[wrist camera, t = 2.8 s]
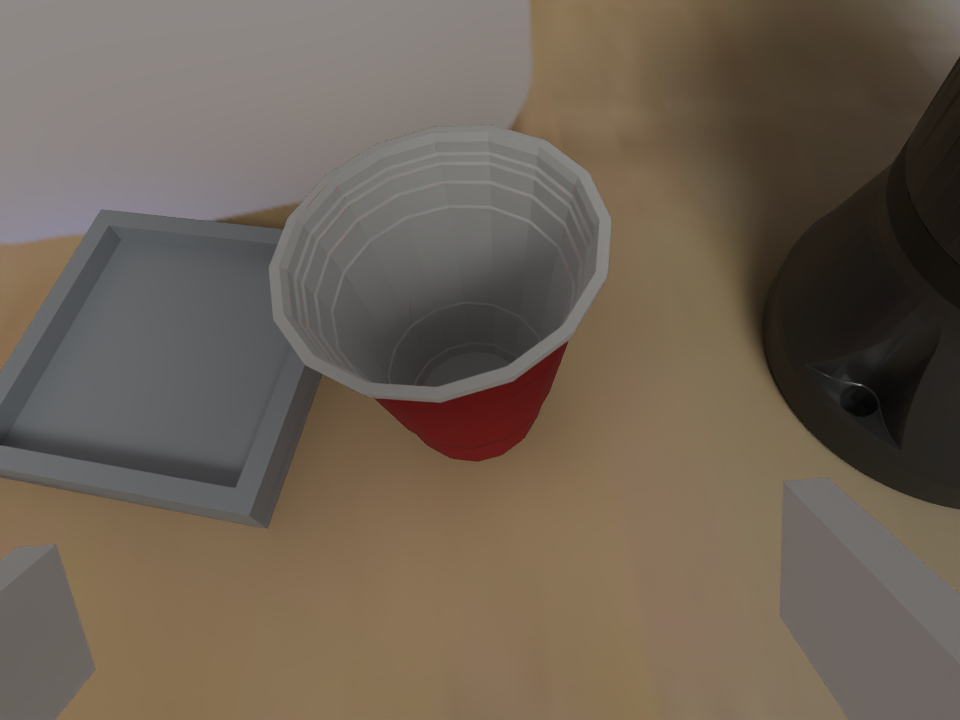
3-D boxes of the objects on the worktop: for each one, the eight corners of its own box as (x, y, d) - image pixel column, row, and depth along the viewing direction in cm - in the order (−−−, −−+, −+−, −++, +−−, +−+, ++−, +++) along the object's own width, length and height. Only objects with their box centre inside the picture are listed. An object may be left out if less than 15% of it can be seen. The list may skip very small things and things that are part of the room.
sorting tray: (362, 260, 35) (352, 236, 33) (267, 528, 28) (249, 515, 26) (121, 233, 37) (101, 209, 35) (-19, 473, 30) (-53, 458, 29)
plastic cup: (408, 284, 34) (349, 89, 23) (613, 336, 31) (649, 143, 21) (316, 474, 29) (190, 337, 19) (548, 553, 27) (553, 445, 16)
